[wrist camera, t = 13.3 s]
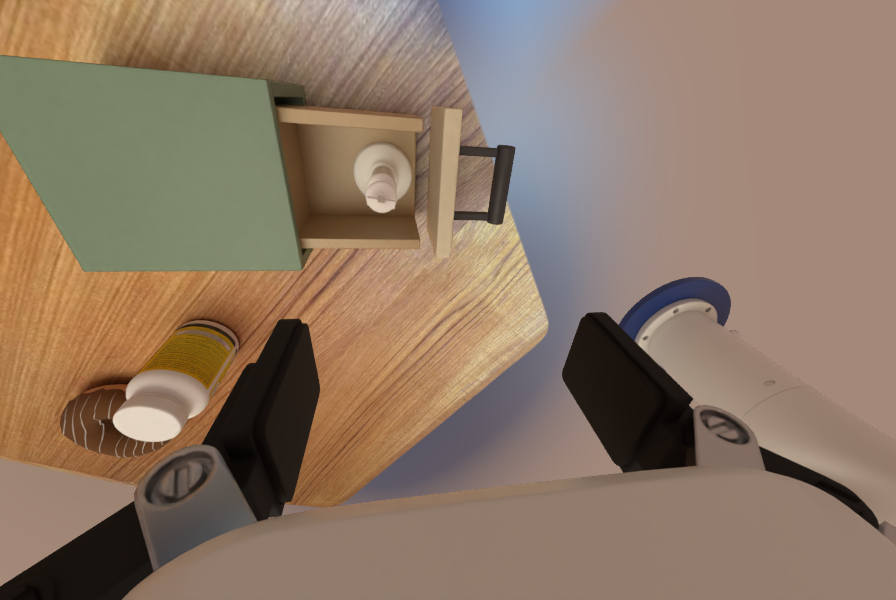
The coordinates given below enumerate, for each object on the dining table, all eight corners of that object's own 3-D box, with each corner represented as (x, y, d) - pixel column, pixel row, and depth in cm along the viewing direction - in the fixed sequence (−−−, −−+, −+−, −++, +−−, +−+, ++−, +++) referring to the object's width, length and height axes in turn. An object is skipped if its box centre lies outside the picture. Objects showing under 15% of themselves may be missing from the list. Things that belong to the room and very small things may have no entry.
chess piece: (408, 206, 29) (416, 249, 21) (352, 198, 28) (336, 240, 19) (415, 148, 26) (428, 170, 18) (354, 136, 25) (338, 154, 17)
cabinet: (303, 85, 25) (266, 79, 17) (323, 228, 31) (302, 270, 23) (99, 67, 22) (-50, 50, 15) (164, 226, 28) (83, 272, 21)
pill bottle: (168, 317, 33) (83, 401, 24) (233, 317, 34) (177, 397, 25) (186, 361, 36) (118, 450, 27) (246, 360, 38) (199, 445, 28)
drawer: (501, 111, 27) (534, 115, 21) (485, 228, 32) (507, 258, 26) (284, 93, 24) (249, 90, 18) (306, 225, 29) (285, 258, 23)
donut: (58, 407, 37) (25, 437, 33) (116, 362, 35) (87, 390, 32) (152, 445, 42) (132, 474, 39) (206, 408, 40) (190, 436, 37)
